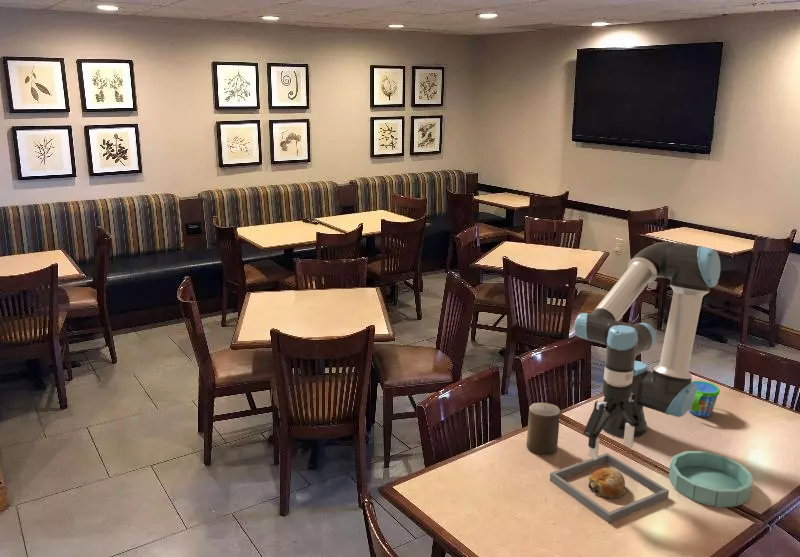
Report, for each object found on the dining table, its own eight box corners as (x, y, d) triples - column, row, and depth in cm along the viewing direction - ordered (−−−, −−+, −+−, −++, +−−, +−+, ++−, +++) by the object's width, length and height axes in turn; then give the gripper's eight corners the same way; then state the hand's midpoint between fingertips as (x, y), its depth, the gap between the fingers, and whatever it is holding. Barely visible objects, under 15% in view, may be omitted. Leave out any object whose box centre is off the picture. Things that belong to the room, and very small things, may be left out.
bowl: (653, 477, 196) (655, 462, 194) (700, 458, 206) (702, 444, 204) (717, 516, 178) (720, 499, 177) (765, 493, 188) (768, 478, 187)
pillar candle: (544, 459, 206) (548, 415, 202) (520, 446, 213) (523, 404, 209) (563, 448, 212) (567, 406, 208) (538, 437, 219) (541, 395, 215)
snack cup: (694, 401, 244) (697, 375, 241) (723, 410, 237) (727, 384, 234) (675, 415, 234) (678, 388, 231) (706, 425, 226) (709, 398, 224)
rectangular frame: (549, 480, 194) (550, 472, 194) (606, 460, 205) (607, 452, 205) (608, 523, 175) (609, 515, 174) (667, 498, 186) (668, 490, 185)
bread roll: (619, 512, 186) (634, 490, 183) (586, 494, 186) (601, 473, 184) (615, 492, 195) (629, 471, 193) (584, 475, 196) (598, 454, 193)
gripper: (594, 396, 172) (587, 469, 177) (660, 378, 184) (652, 446, 189) (574, 385, 178) (568, 456, 184) (638, 368, 190) (631, 435, 196)
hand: (610, 451), depth 187 cm, fingers open, 13 cm apart
